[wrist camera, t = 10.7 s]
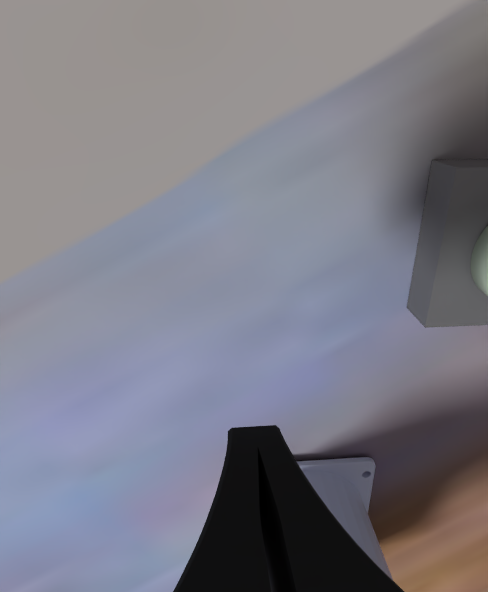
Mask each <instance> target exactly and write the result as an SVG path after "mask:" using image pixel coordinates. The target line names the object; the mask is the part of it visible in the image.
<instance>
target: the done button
mask: <svg viewBox="0 0 488 592" xmlns="http://www.w3.org/2000/svg"><path fill="white" fill-rule="evenodd" d="M471 274H472V278H473V280H474V282H475V284H476V286H477V287H478V288H479V289H480V290H481V291H482V292H483V293H484V294H485V295H487V296H488V226H487V227H486V228H485V229H484V231H483V232H482V233H481V235H480V236H479V238H478V240H477V242H476V244H475V246H474V249H473V252H472V257H471Z"/></svg>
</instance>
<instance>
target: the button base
mask: <svg viewBox="0 0 488 592" xmlns="http://www.w3.org/2000/svg"><path fill="white" fill-rule="evenodd" d="M487 226H488V159H469V160H432V164H431V170H430V176H429V181H428V187H427V193H426V199H425V205H424V210H423V216H422V222H421V228H420V234H419V239H418V245H417V251H416V257H415V263H414V268H413V274H412V280H411V286H410V292H409V298H408V303H407V308H408V309H409V311H410V312H411V313H412V314H413V315H414V316H415V317H416V318H417V319H418V320H419V321H420V323H421V324H422V325H423V326H424V327H425V328H426V327H449V326H472V325H488V296H487V295H485V294H484V293H483V292H482V291H481V290H480V289H479V288H478V287H477V286H476V284H475V282H474V280H473V278H472V274H471V257H472V252H473V249H474V246H475V244H476V242H477V240H478V238H479V236H480V235H481V233H482V232H483V231H484V229H485V228H486V227H487Z"/></svg>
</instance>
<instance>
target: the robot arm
mask: <svg viewBox="0 0 488 592" xmlns="http://www.w3.org/2000/svg"><path fill="white" fill-rule="evenodd" d="M375 468H376V466H375V463H374V460H373V459H372V458H370V457H360V458H344V459H328V460H312V461H297V462H296V460H295V458H294V456H293V455H292V453H291V451H290V449H289V448H288V446H287V444H286V442H285V440H284V438H283V436H282V434H281V432H280V429H279V428H278V427H277V426H276V425H273V426H256V427H238V428H231V429H230V430H229V431H228V444H227V451H226V457H225V461H224V466H223V470H222V474H221V477H220V481H219V484H218V488H217V491H216V494H215V497H214V500H213V503H212V506H211V509H210V511H209V514H208V517H207V520H206V522H205V525H204V527H203V530H202V532H201V535H200V537H199V540H198V542H197V544H196V546H195V549H194V551H193V553H192V555H191V557H190V559H189V561H188V563H187V565H186V568H185V570H184V572H183V574H182V576H181V578H180V580H179V582H178V584H177V585H176V587H175V589H174V591H173V592H404V591H403V590H402V589H401V588H400V587H399V586H398V585H397V584H396V583H395V582H394V581H393V579H392V576H391V574H390V571H389V569H388V566H387V563H386V561H385V558H384V555H383V553H382V550H381V547H380V545H379V542H378V540H377V537H376V534H375V532H374V529H373V526H372V524H371V521H370V519H369V516H368V510H369V504H370V498H371V492H372V486H373V480H374V474H375ZM366 471H367V472H366Z"/></svg>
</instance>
